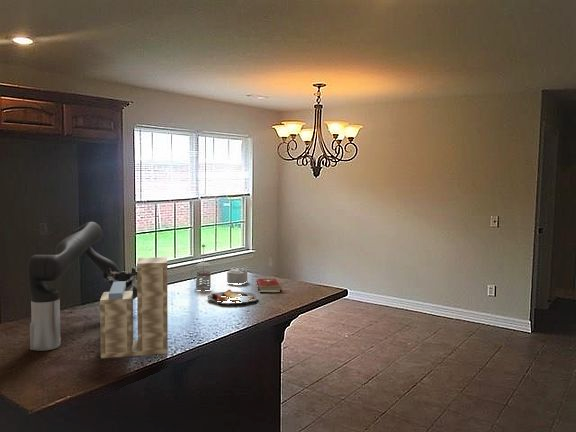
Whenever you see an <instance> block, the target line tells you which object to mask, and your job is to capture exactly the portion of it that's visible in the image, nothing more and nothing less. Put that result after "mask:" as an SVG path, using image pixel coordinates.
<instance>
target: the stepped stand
mask: <svg viewBox="0 0 576 432" xmlns="http://www.w3.org/2000/svg"><path fill="white" fill-rule="evenodd" d="M136 272H137V280H136V288H137V297H136V299H137V300H136V301H137V309H136V310H137V317H136V318H137V340H134V300H133V291H125V292H124V295H123V299H109V292H110V291H104V292H103V293H102V294H101V297H100V300H99V317H100V318H99V321H100V323H99V328H100V334H99V335H100V359H108V358H122V357H137V356H138V357H139V356H151V355H165V354H166V355H167V354H169V353H168V352H169V351H168V350H169V349H168V343H169V342H168V341H169V340H168V338H169V337H168V334H169V333H168V332H169V329H168V328H169V327H168V325H169V323H168V313H169V312H168V257H167V256H166V257H163V256H162V257H139V258H137V261H136Z"/></svg>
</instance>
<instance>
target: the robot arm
mask: <svg viewBox="0 0 576 432" xmlns="http://www.w3.org/2000/svg"><path fill="white" fill-rule="evenodd" d="M102 237H103V230H102V228H101V226H100V225H99V224H98V223H97V222H95V221H87V222H85V223H84V224H81V225H80V226H79V227H77V228H76V229H74V230H73V231H72V233H71V234H70V235H69V236H66V237H65V238H64V239H61V241H59V242H58V244H57V245H56V247H55V254H33V255H32V256H31V257H30V258H29V261H28V265H27V275H28V285H29V289H28V290H29V295H30V307H31V308H30V309H31V310H30V311H31V313H30V314H31V321H30V323H29V338H30V339H29V340H30V341H29V344H30V345H29V346H30V351H37V352H38V351H49V350H51V351H52V350H54V349H57V348H60V346H62V345H61V344H62V343H61V339H62V337H61V308H60V307H61V303H60V302H61V301H60V300H61V299H60V298H61V297H60V291H59V290H58V289H57V288H54V287H52V286H49V285H48V284H47V283H46V282H53V281H58V280H60V279H61V278H62V277H63V276H64V274H65V273H66V271H68V269H69V268H70V267H71V265H72V264H73V263H75V262H76V261H77V260H78V259H79V258H80V257H82V255H83V254H84V255H86V257H87V258H88V259H89V260H90V262H92V263H93V265H95V267H96V268H97V269H98V270H99V272H100V273H101V274H102V279H103V281H104V283H108V285H109V286H110V288H111V287H112V284H113V282H117V281H126V288H125V291H133V301H134V300H135V299H137V286H135V285H134V280H136V281H137V268H134V267H131V270H129V271H121V270H120V268H119V267H118V265H117V264H116V263H115V262H114V261H112V260H111V259H109V258H107V257H105V256H103V255H101V254H100V253H98V252H97V251H96V250H95V249H93V247H92V245H93V244H96V243H97V242H98V241H100V240H101V239H102Z"/></svg>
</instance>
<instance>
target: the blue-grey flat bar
mask: <svg viewBox="0 0 576 432" xmlns="http://www.w3.org/2000/svg"><path fill="white" fill-rule="evenodd" d="M125 288H126V281H117V282H113V284H112V287H111V286H110V289H109V291H108V292H109V299H123V295H124V292H125Z"/></svg>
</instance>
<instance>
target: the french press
mask: <svg viewBox="0 0 576 432" xmlns="http://www.w3.org/2000/svg"><path fill="white" fill-rule="evenodd" d="M205 247H206V245H205V244H202V245H201V248H202V249H203V253H202V255H203V258H202V259H203V260H202V262H199V263H197V264H195V267H194V268H193V269H192V270H191V271H190V274H193V271H194V270H196V269H198V268H197V267H199V268H203V269H202V270H201V271H196V273H197V274H196V275H195V277H196V278H194V276H193V275H190V276H191V277H190V278H191V279H192V280H193V281H194V282H195V288H194V291H195V290H201V291H205V290H210V288H212V287H211V286H212V285H211V282H212V281H211V279H212V278H211V274H210V273H211V271H208V270H207V271H205V268H208V267H211V266H212V264H210V263H209V262H205V260H204V258H205V257H204V256H205V254H204V253H205V252H204V251H205Z"/></svg>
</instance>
